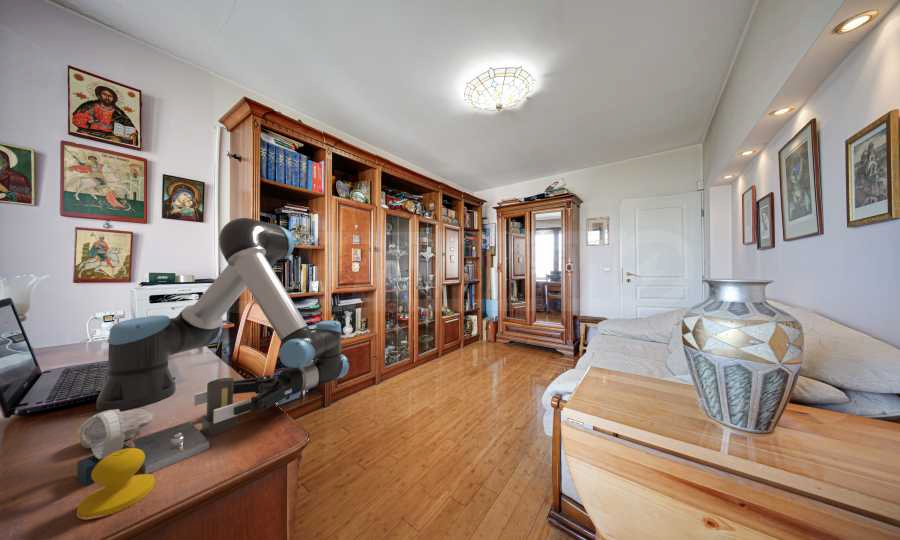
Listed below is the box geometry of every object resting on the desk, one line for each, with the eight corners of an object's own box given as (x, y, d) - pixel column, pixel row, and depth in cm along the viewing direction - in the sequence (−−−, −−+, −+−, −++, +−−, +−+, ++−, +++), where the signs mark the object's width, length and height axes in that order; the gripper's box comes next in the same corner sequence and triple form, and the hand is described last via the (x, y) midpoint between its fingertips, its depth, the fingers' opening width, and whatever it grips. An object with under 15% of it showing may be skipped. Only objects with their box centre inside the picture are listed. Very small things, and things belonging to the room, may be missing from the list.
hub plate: (131, 447, 57) (132, 429, 57) (189, 427, 65) (189, 411, 65) (145, 474, 49) (146, 454, 49) (209, 448, 57) (209, 431, 57)
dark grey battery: (201, 429, 64) (203, 382, 64) (228, 419, 68) (230, 375, 68) (209, 437, 61) (210, 388, 61) (237, 426, 65) (238, 380, 65)
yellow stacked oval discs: (123, 515, 41) (57, 524, 40) (167, 477, 49) (113, 483, 47) (125, 466, 41) (59, 473, 40) (168, 435, 49) (115, 440, 48)
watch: (119, 456, 54) (121, 401, 54) (136, 469, 51) (138, 410, 51) (72, 475, 49) (74, 414, 49) (88, 490, 46) (90, 425, 46)
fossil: (162, 416, 64) (103, 419, 55) (145, 448, 62) (80, 456, 53) (143, 406, 67) (84, 408, 59) (126, 436, 65) (62, 442, 56)
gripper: (321, 403, 73) (223, 443, 55) (277, 382, 87) (187, 409, 69) (322, 375, 73) (224, 406, 55) (277, 358, 87) (188, 379, 69)
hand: (203, 408), depth 62 cm, fingers open, 13 cm apart
